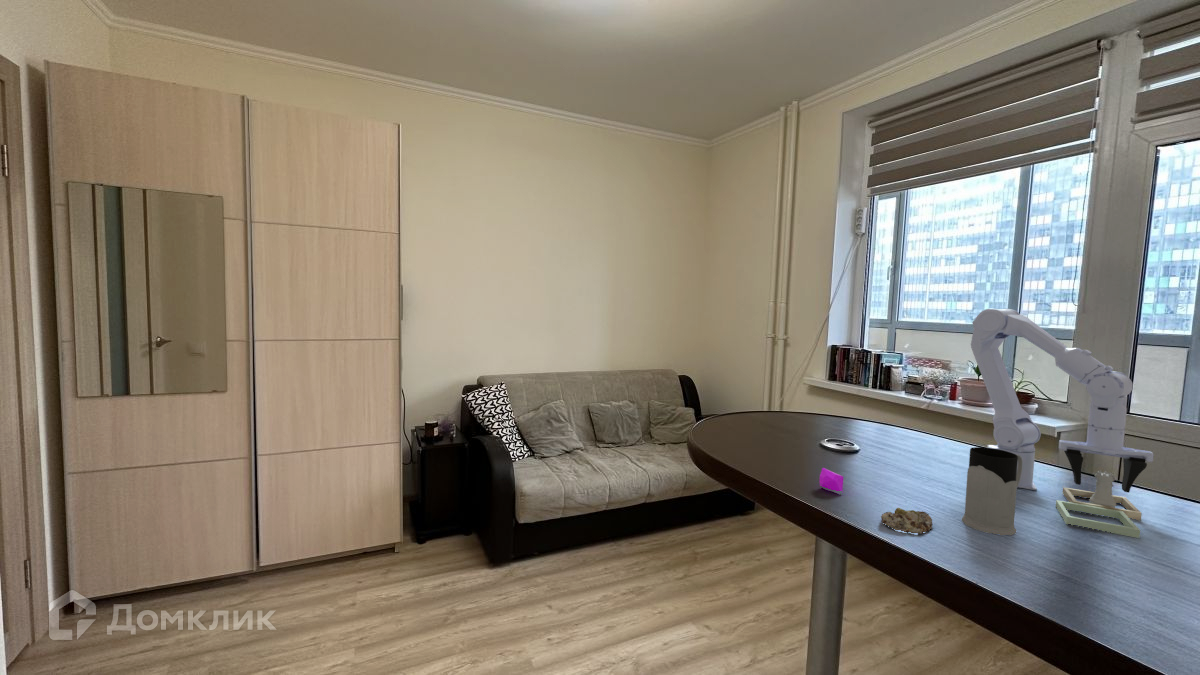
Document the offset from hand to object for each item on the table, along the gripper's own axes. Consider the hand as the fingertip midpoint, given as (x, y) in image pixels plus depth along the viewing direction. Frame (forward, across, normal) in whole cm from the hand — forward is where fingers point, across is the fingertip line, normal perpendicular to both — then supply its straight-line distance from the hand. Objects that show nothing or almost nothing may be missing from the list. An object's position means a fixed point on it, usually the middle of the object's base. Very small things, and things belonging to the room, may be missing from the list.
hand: (1100, 487), depth 109 cm
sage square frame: (+4, -3, -12) cm, 13 cm away
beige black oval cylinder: (+5, -20, -24) cm, 32 cm away
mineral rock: (+5, -35, -36) cm, 51 cm away
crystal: (+5, -51, -25) cm, 57 cm away
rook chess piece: (+5, 0, -1) cm, 5 cm away
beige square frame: (+4, 0, 0) cm, 4 cm away
